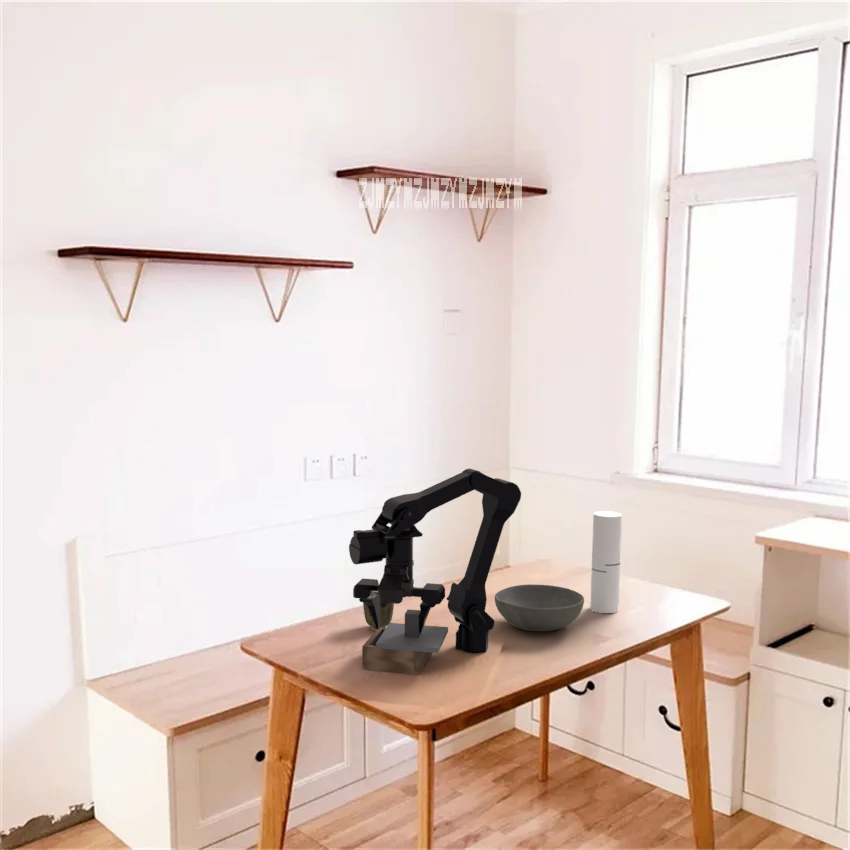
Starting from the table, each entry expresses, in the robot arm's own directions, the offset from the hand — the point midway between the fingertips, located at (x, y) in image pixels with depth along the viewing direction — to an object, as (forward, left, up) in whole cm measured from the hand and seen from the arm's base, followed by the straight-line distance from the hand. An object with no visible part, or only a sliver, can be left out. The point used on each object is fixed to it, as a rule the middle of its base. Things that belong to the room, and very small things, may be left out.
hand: (399, 630), depth 187 cm
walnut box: (0, 0, -8) cm, 8 cm away
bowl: (-26, -33, -8) cm, 43 cm away
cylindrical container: (-41, -51, -8) cm, 66 cm away
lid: (-3, 0, -2) cm, 3 cm away
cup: (+10, -19, -8) cm, 23 cm away
